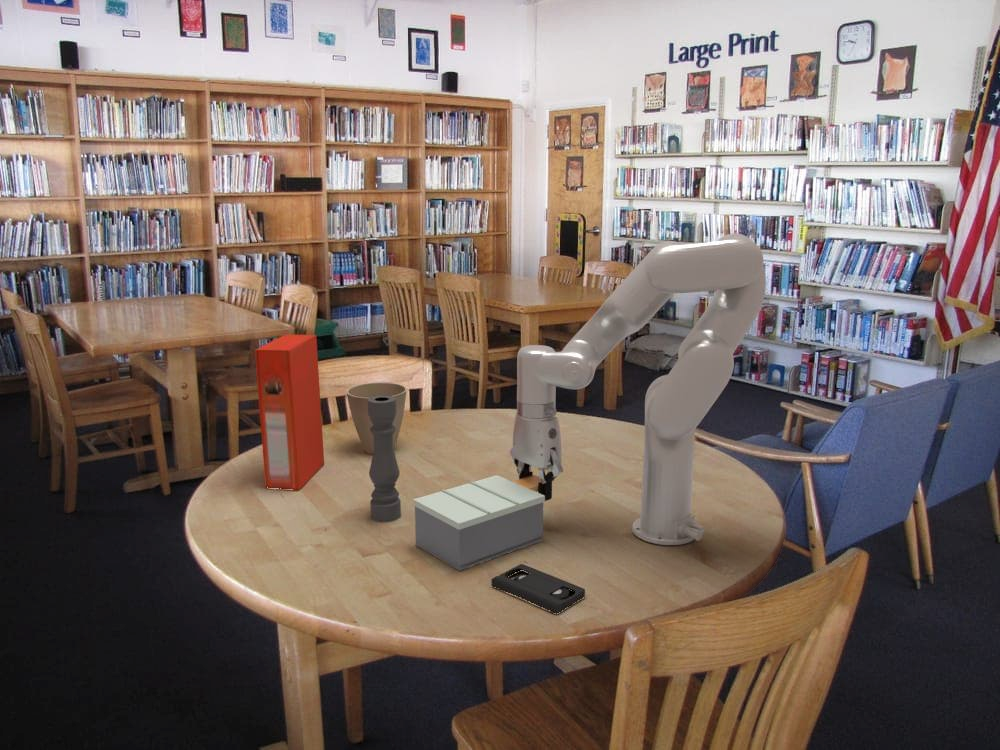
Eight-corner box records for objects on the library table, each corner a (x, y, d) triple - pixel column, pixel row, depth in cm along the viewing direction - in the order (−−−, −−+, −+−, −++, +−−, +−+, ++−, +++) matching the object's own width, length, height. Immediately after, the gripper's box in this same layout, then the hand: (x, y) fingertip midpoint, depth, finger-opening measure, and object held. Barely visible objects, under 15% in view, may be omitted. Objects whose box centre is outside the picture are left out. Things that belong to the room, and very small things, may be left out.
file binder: (264, 489, 190) (254, 349, 182) (292, 463, 207) (284, 334, 199) (299, 491, 189) (290, 350, 181) (324, 464, 206) (317, 335, 198)
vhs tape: (585, 600, 142) (586, 589, 142) (556, 618, 137) (556, 606, 136) (521, 573, 152) (521, 563, 151) (491, 589, 146) (491, 578, 145)
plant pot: (355, 440, 224) (353, 382, 220) (412, 441, 223) (410, 382, 219) (343, 459, 209) (340, 397, 205) (403, 460, 209) (401, 397, 205)
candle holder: (405, 511, 178) (402, 396, 172) (394, 523, 172) (390, 404, 166) (378, 508, 179) (373, 394, 173) (365, 520, 173) (360, 402, 167)
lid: (567, 494, 166) (567, 486, 165) (459, 529, 149) (458, 521, 149) (519, 474, 176) (519, 467, 176) (413, 505, 160) (413, 497, 160)
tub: (542, 540, 164) (543, 501, 162) (459, 571, 151) (459, 529, 150) (497, 518, 174) (496, 481, 172) (415, 544, 162) (414, 505, 160)
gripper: (580, 414, 162) (578, 504, 166) (522, 396, 175) (521, 480, 179) (551, 422, 157) (550, 513, 161) (493, 403, 170) (493, 488, 174)
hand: (535, 495), depth 170 cm, fingers closed on lid, 5 cm apart
